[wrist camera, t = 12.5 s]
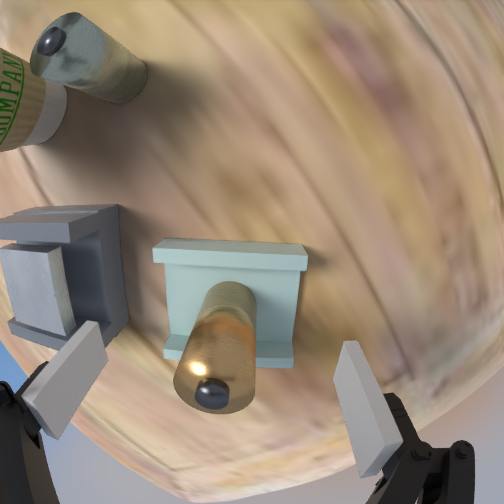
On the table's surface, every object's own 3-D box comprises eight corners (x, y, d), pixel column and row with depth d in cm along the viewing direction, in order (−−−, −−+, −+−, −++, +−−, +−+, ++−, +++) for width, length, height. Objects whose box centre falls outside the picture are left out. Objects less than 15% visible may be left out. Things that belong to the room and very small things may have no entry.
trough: (165, 237, 20) (152, 248, 17) (301, 244, 20) (308, 256, 17) (173, 339, 23) (164, 358, 20) (289, 347, 22) (292, 368, 20)
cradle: (34, 207, 20) (-15, 221, 13) (118, 204, 19) (68, 220, 13) (49, 304, 22) (12, 335, 16) (129, 319, 22) (96, 362, 16)
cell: (203, 279, 20) (163, 363, 11) (257, 282, 20) (256, 371, 11) (205, 325, 21) (176, 418, 12) (255, 328, 21) (253, 426, 12)
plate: (11, 243, 15) (-2, 248, 14) (60, 246, 15) (47, 252, 14) (26, 312, 17) (16, 321, 15) (76, 326, 17) (65, 336, 15)
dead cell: (107, 63, 16) (32, 23, 7) (150, 54, 16) (86, -3, 7) (100, 107, 17) (16, 83, 8) (144, 100, 17) (67, 61, 8)
